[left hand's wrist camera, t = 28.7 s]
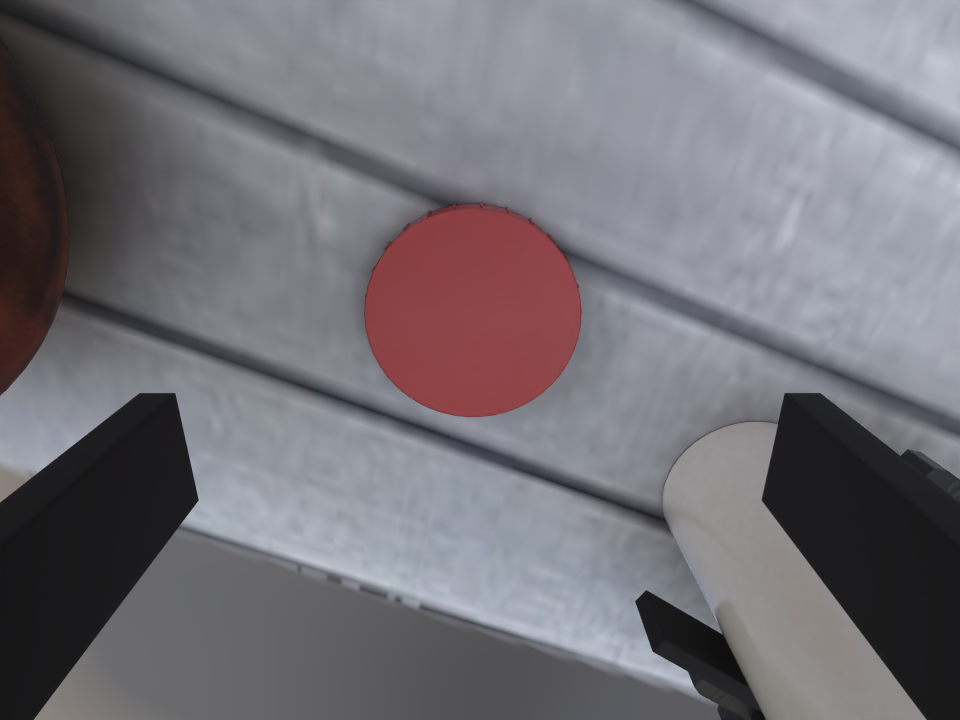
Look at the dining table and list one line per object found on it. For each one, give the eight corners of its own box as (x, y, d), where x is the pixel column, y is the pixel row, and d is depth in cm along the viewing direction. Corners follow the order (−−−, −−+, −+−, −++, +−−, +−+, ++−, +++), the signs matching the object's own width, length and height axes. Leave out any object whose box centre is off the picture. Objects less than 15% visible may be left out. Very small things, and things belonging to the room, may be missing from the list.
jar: (638, 539, 31) (864, 1087, 13) (699, 403, 28) (1094, 861, 10) (780, 572, 32) (1174, 1127, 14) (853, 442, 29) (1465, 929, 11)
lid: (349, 367, 27) (339, 384, 25) (403, 171, 24) (396, 173, 22) (533, 422, 28) (537, 442, 26) (606, 241, 25) (617, 249, 23)
